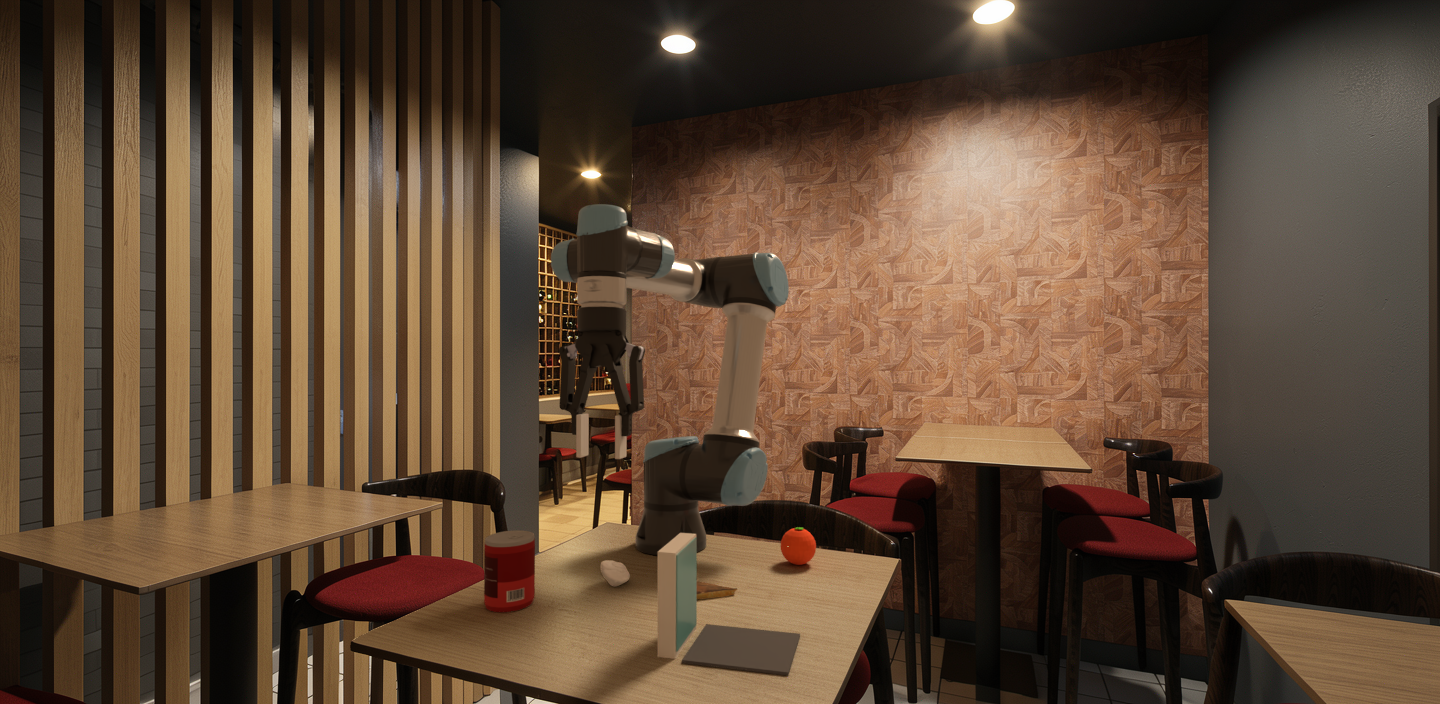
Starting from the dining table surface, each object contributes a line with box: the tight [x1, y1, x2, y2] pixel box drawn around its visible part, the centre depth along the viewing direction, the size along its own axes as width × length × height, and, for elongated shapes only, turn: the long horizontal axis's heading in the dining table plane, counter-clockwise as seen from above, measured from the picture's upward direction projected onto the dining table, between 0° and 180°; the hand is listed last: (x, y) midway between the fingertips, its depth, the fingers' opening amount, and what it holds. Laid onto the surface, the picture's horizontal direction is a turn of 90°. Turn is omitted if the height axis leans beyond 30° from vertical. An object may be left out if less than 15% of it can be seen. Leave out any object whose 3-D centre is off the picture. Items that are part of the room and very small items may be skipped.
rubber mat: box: [681, 623, 801, 676], centre depth 89 cm, size 12×14×1 cm
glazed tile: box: [657, 533, 698, 660], centre depth 92 cm, size 10×3×14 cm, turn 166°
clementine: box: [779, 526, 817, 566], centre depth 127 cm, size 8×7×7 cm
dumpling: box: [600, 559, 631, 587], centre depth 115 cm, size 7×5×4 cm
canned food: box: [483, 530, 536, 613], centre depth 106 cm, size 8×8×11 cm
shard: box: [697, 580, 738, 600], centre depth 109 cm, size 11×8×2 cm
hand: (601, 456), depth 100 cm, fingers open, 6 cm apart
